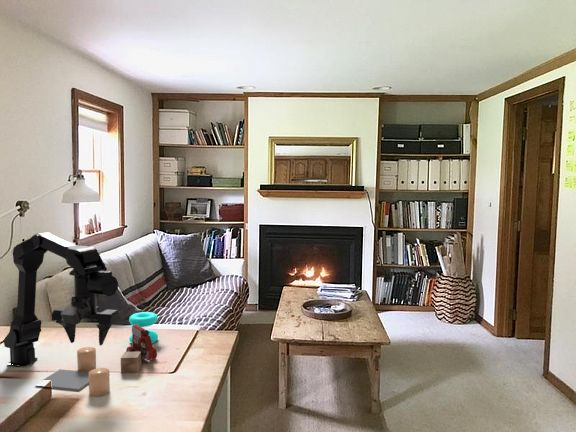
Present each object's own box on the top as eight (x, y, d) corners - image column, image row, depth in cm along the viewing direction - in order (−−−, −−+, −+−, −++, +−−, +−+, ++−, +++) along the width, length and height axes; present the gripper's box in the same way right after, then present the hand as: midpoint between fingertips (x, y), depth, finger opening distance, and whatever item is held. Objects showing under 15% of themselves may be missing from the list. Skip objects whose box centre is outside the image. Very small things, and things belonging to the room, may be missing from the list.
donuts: (134, 310, 181) (160, 311, 181) (134, 336, 182) (161, 337, 182) (124, 319, 171) (153, 319, 171) (125, 346, 172) (153, 346, 172)
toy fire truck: (140, 367, 154) (139, 335, 153) (124, 356, 163) (123, 326, 162) (160, 361, 158) (160, 330, 157) (143, 351, 168) (142, 321, 167)
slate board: (35, 386, 139) (35, 384, 139) (59, 371, 150) (59, 369, 150) (79, 391, 137) (79, 388, 137) (101, 375, 148) (101, 373, 147)
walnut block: (121, 373, 149) (120, 357, 148) (125, 367, 154) (124, 351, 153) (137, 373, 149) (137, 357, 149) (141, 366, 154) (140, 351, 154)
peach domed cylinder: (73, 371, 150) (73, 352, 150) (84, 364, 155) (83, 346, 155) (89, 372, 149) (89, 354, 149) (99, 366, 154) (99, 347, 154)
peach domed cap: (85, 395, 134) (84, 374, 133) (96, 387, 139) (95, 367, 139) (102, 397, 133) (102, 376, 132) (113, 389, 138) (112, 368, 138)
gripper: (37, 296, 133) (39, 351, 135) (98, 300, 130) (100, 357, 131) (63, 286, 144) (64, 337, 146) (120, 290, 141) (121, 342, 142)
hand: (86, 343), depth 141 cm, fingers open, 9 cm apart
